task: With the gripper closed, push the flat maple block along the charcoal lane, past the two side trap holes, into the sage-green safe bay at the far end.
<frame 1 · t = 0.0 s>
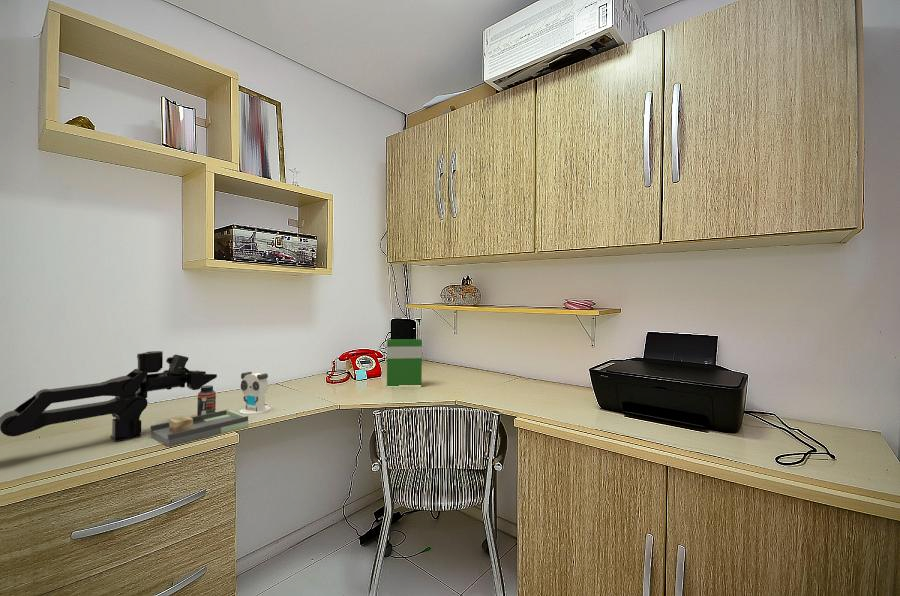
hand: (211, 374, 148), 17 cm above the table, tool horizontal, fingers open, 9 cm apart
trap box: (201, 431, 134), on the table
hardback book: (404, 386, 206), on the table
panda figurine: (254, 410, 160), on the table
maple block: (181, 430, 129), point 2 cm above the table, touching trap box
supplement bottle: (206, 416, 152), on the table
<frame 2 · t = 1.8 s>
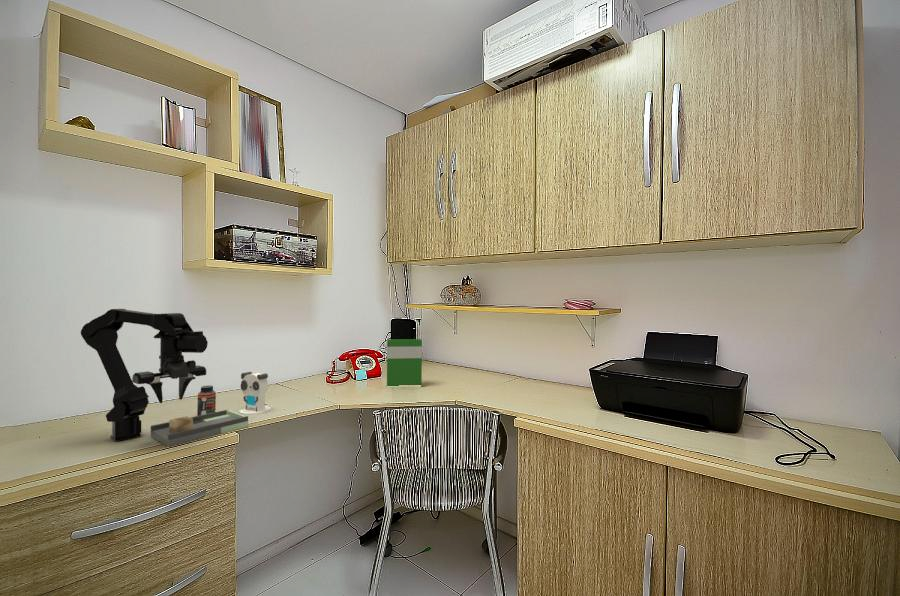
hand: (170, 401, 127), 12 cm above the table, tool pointing down, fingers open, 5 cm apart
nothing on the table moved.
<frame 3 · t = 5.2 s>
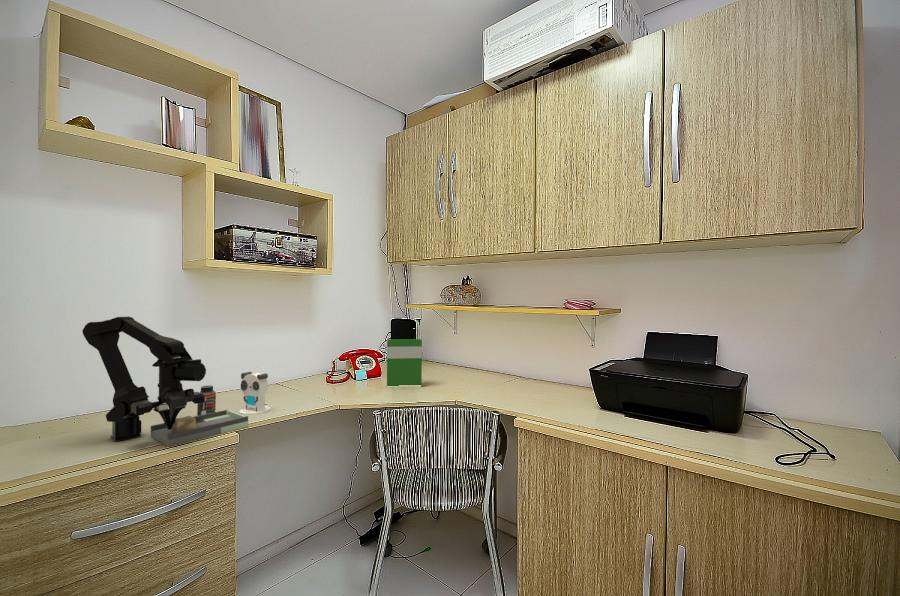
hand: (169, 429, 126), 3 cm above the table, tool pointing down, fingers closed
maple block: (183, 429, 129), point 2 cm above the table, touching gripper, trap box
everything else where it was.
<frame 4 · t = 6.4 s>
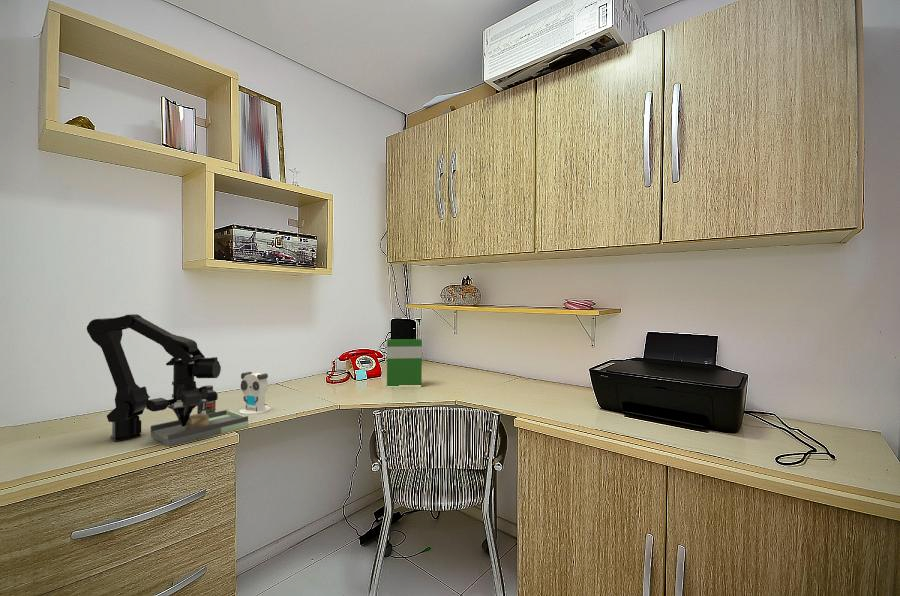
hand: (183, 426, 129), 3 cm above the table, tool pointing down, fingers closed
maple block: (197, 426, 133), point 2 cm above the table, touching trap box
everything else where it was.
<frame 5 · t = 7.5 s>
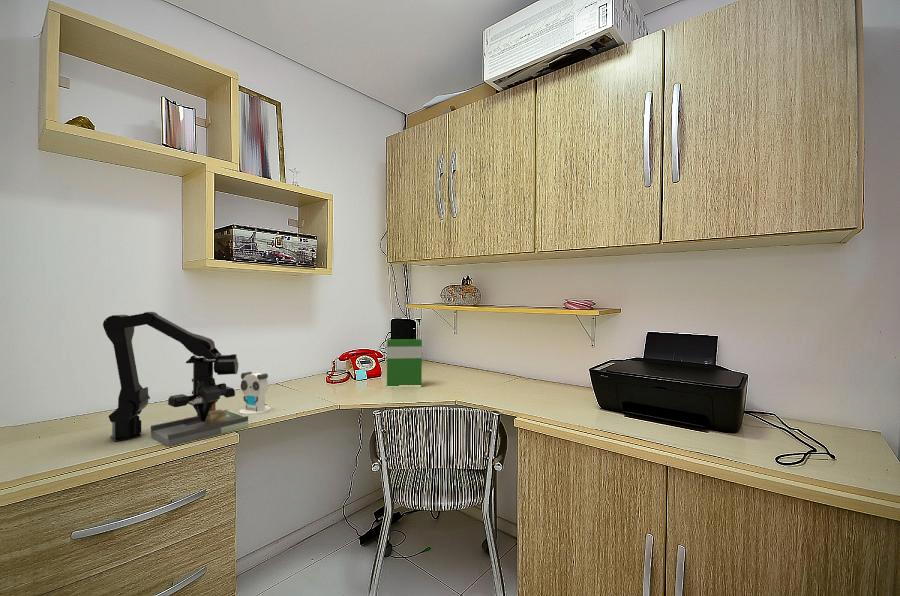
hand: (203, 421, 134), 3 cm above the table, tool pointing down, fingers closed
maple block: (215, 422, 137), point 2 cm above the table, touching trap box
everything else where it was.
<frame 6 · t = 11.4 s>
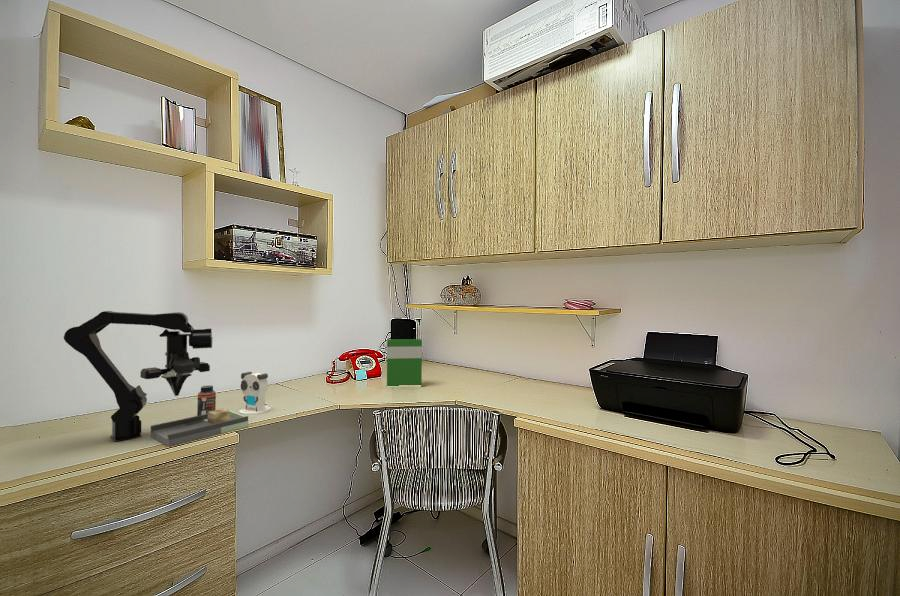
hand: (176, 395, 134), 12 cm above the table, tool pointing down, fingers closed
maple block: (218, 421, 138), point 2 cm above the table, touching trap box
everything else where it was.
at the end: maple block 0.8 cm from the target spot on the trap box, point 2.0 cm above the trap box's base; maple block tilted 0° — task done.
